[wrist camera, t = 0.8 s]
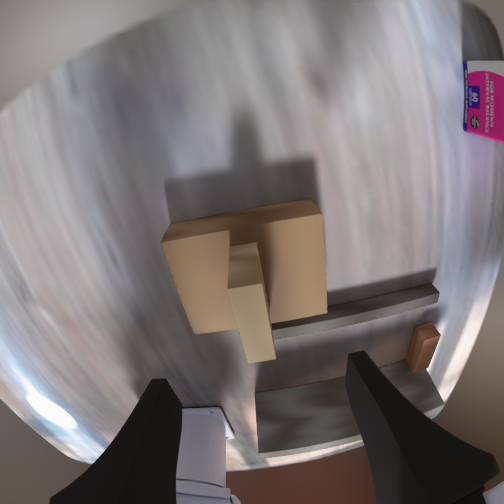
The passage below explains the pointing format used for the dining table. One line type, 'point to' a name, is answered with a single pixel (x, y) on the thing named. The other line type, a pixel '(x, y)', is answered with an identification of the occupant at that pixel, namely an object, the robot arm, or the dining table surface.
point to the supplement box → (484, 99)
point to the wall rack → (334, 391)
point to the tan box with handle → (250, 270)
